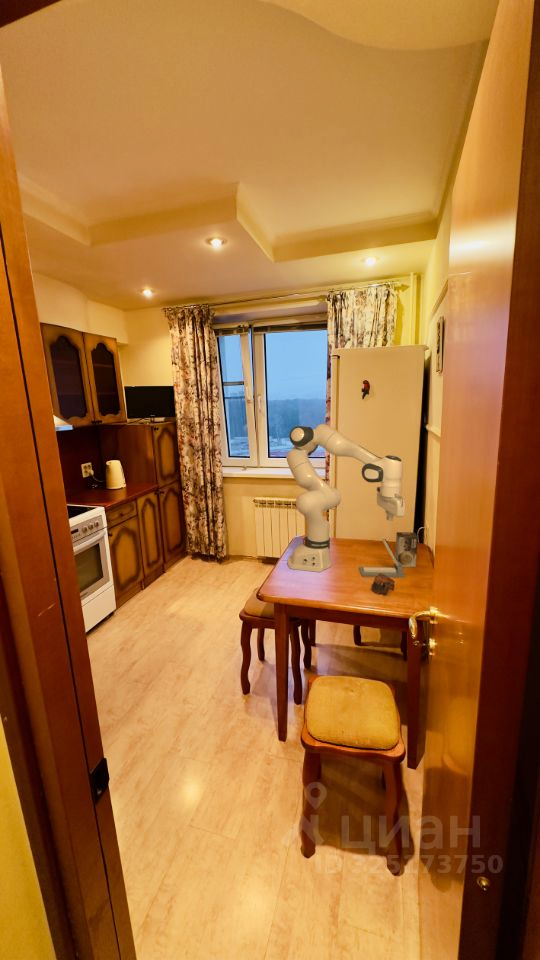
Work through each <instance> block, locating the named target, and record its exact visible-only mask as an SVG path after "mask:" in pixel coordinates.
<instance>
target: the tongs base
mask: <svg viewBox="0 0 540 960" xmlns="http://www.w3.org/2000/svg"><path fill="white" fill-rule="evenodd" d="M393 562H394V561H393ZM398 564H399V566H400V562H398ZM393 565H394V566H393V567H392V566H358V570H359V572H360V576H361V577H362V578H375V577H376V576H378V575H379V573H381V574H383V575H385V576H387V577H389V578H396V579H397V578H403V579H404V578H406V573H404V570H405V567H397V566H396V564H395V562H394V564H393Z"/></svg>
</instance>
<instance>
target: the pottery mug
mask: <svg viewBox="0 0 540 960" xmlns="http://www.w3.org/2000/svg"><path fill="white" fill-rule="evenodd" d="M395 582H396V581H395V580H394V579H393V578H392V577H387V576H385V575H383V574H381V573H379V575H378V576H376V577H374V579H373V583H372V584H371V586H370V590H371V591H372V592H373V593H374V594H377V595H380V594H383V595H386V594H387V593H388V592H389V590H390V587H391V591H394V590H395Z"/></svg>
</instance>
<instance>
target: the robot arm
mask: <svg viewBox="0 0 540 960" xmlns="http://www.w3.org/2000/svg"><path fill="white" fill-rule="evenodd" d="M288 437H289V441H290V443H291V444H292V445H293V448H292V449H291V450H289V451H288V452H287V454H286V456H285V458H286V462H287V465H288V468H289V471H290V472H291V473H292V476H293V478H294V480H295V482H296V483H297V486H298V487H300V488H302V489H304V490H306V491H305V492H303V493H301V494H300V495H298V496H297V497H296V500H295V506H296V510H297V511H298V512H299V513H300V514H301V515H302V516H304V519H305V520H306V521H305V522H306V533H307V534H306V535H305V534H303V535H302V536H301V537H302V543H301V544H300V545H298V546H296V547H295V548H294V549H293V552H292V554H291V555H290V556H289V557H288V558H287V566H288V567H289V568H290V569H291V570H298V571H306V572H307V571H308V572H316V573H322V571H324V570H326V569H329V568H331V567H332V564H333V562H332V559H331V551H330V550H331V537H330V531H331V529H330V522H329V521H328V520H327V519H326V518H325V517H324V516H323V512H325V511H329V510H332V509H334V508H336V507H337V506H339V505H340V504H341V502H342V495H341V492H340V490H339V489H337V487H333V486H331V485H330V484H328V483H327V482H326V481H325V480H324V479H323V478H321V477H320V475H319V474H318V473H317V471H316V469H315V467H314V465H313V463H311V460H310V459H309V457H310V456H311V455H312V454H313V453H314V452H316V450H317V449H318V447H319V446H320V447H321V448H323V449H324V450H325V451H327V453H329V454H331V455H333V456H335V457H345V458H347V457H348V458H354V459H356V460H358V461H360V462H361V463H362V464H364V465H363V467H362V468H361V475H362V478H363V479H364V481H365V482H367V483H373V484H374V483H381V486H376V504H377V506H378V507H380V508H381V509H383V510H384V511H385V516H386V520H387V521H388V522H393V520H394V517H396V518H404V517H405V515H406V504H405V500H404V499H403V496H402V491H403V490H402V489H403V488H402V487H403V484H402V478H403V475H404V474H403V473H404V472H403V470H404V467H403V461H402V459H401V458H400V457H398V456H396V455H389V454H388V455H385V456H384V457H380V456H377V455H376V454H374V453H372V452H371V451H369V450H367V449H366V448H365V447H363V446H361V445H359V444H358V443H356V442H354V441H353V440H352V439H351V438H349V437H347V436H346V435H344V434H342V432H340V431H339V430H337V429H336V428H334V427H332V426H330V425H328V424H325V423H320V424H318V425H317V426H316V427H315V428H314V429H313V427H311V426H304V425H297V426H295V427H293V428H292V429H291V430H290V431H289V436H288Z"/></svg>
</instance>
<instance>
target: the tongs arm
mask: <svg viewBox="0 0 540 960" xmlns="http://www.w3.org/2000/svg"><path fill="white" fill-rule="evenodd" d="M381 541H382V543H383V544H384V546H385V548H386V550H387V551H388V553H389V555H390V557H391V559H392V561H393V562H395V564H396V566H397V567H400V566H399V564H398V562H397V560H396V559H395V554H393V552H392V548H391V546H390V545H389V543H388V541H387V539H386V538H382V539H381Z"/></svg>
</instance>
